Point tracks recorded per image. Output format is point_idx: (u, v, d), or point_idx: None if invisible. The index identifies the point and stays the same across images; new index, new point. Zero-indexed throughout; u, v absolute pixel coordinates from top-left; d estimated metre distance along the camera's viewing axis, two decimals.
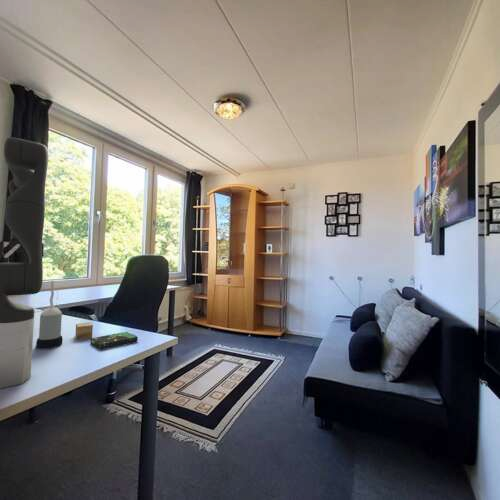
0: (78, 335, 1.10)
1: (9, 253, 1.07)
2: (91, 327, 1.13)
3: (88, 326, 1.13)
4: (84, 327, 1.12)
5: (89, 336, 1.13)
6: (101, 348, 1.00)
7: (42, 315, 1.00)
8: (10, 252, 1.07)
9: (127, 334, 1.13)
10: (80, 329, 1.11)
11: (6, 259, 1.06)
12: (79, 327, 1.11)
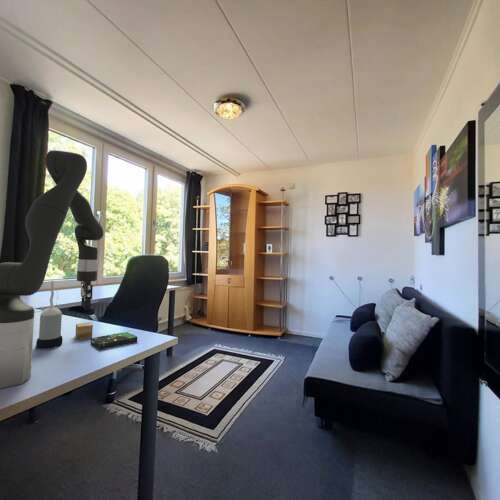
0: (78, 335, 1.10)
1: (91, 295, 1.12)
2: (91, 327, 1.13)
3: (88, 326, 1.13)
4: (84, 327, 1.12)
5: (89, 336, 1.13)
6: (100, 348, 1.00)
7: (42, 315, 1.00)
8: (91, 294, 1.13)
9: (127, 334, 1.13)
10: (80, 329, 1.11)
11: (90, 301, 1.12)
12: (79, 327, 1.11)
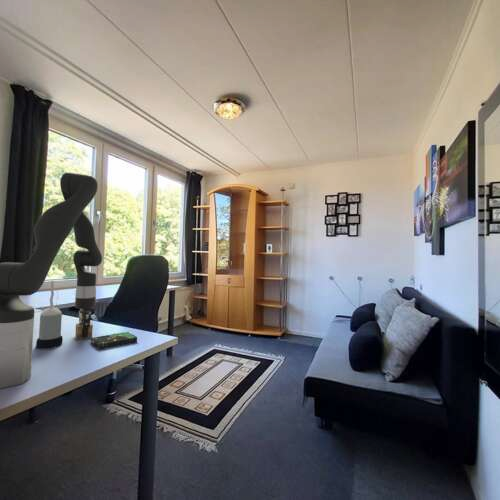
0: (78, 335, 1.10)
1: None
2: (91, 327, 1.13)
3: None
4: None
5: (89, 336, 1.13)
6: (100, 348, 1.00)
7: (42, 315, 1.00)
8: None
9: (127, 334, 1.13)
10: (80, 329, 1.11)
11: (87, 329, 1.12)
12: (79, 327, 1.11)
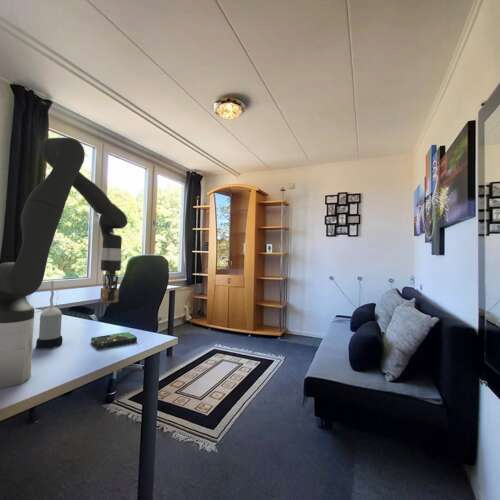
0: (104, 298, 1.07)
1: None
2: (117, 291, 1.10)
3: None
4: None
5: (115, 300, 1.09)
6: (99, 348, 1.00)
7: (42, 315, 1.00)
8: None
9: (127, 334, 1.13)
10: (106, 292, 1.07)
11: (114, 293, 1.08)
12: (105, 290, 1.07)
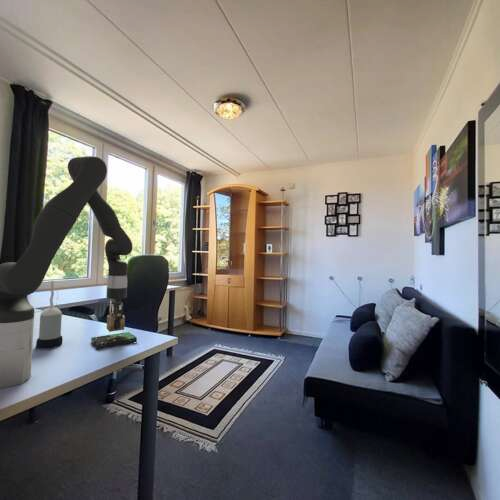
0: (110, 327, 1.06)
1: (121, 314, 1.08)
2: (123, 318, 1.09)
3: None
4: None
5: (121, 328, 1.08)
6: (98, 348, 1.00)
7: (42, 315, 1.00)
8: None
9: (128, 334, 1.13)
10: (112, 321, 1.06)
11: (120, 321, 1.07)
12: (111, 318, 1.06)
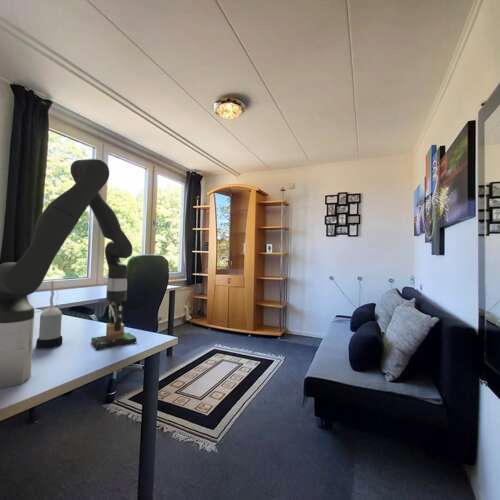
0: (110, 335, 1.05)
1: None
2: (122, 327, 1.08)
3: None
4: None
5: (120, 336, 1.08)
6: (98, 348, 1.00)
7: (42, 315, 1.00)
8: None
9: (128, 335, 1.13)
10: (111, 329, 1.06)
11: (120, 323, 1.06)
12: (111, 327, 1.06)
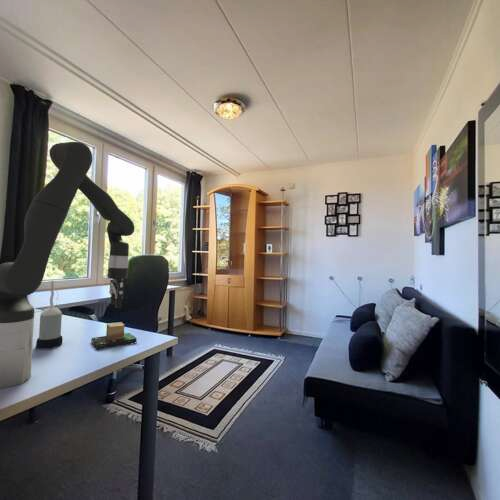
0: (110, 336, 1.05)
1: None
2: (123, 327, 1.08)
3: (120, 326, 1.07)
4: (116, 327, 1.07)
5: (121, 337, 1.08)
6: (98, 348, 1.00)
7: (42, 315, 1.00)
8: None
9: (128, 335, 1.13)
10: (112, 330, 1.06)
11: (121, 299, 1.06)
12: (111, 327, 1.05)
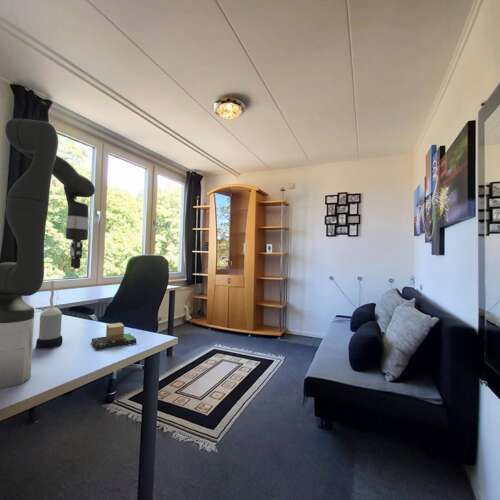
0: (109, 336, 1.05)
1: None
2: (122, 328, 1.08)
3: (119, 327, 1.07)
4: (115, 328, 1.06)
5: (120, 337, 1.07)
6: (97, 349, 1.00)
7: (42, 315, 1.00)
8: None
9: (128, 336, 1.12)
10: (111, 330, 1.05)
11: (79, 260, 1.05)
12: (110, 328, 1.05)
